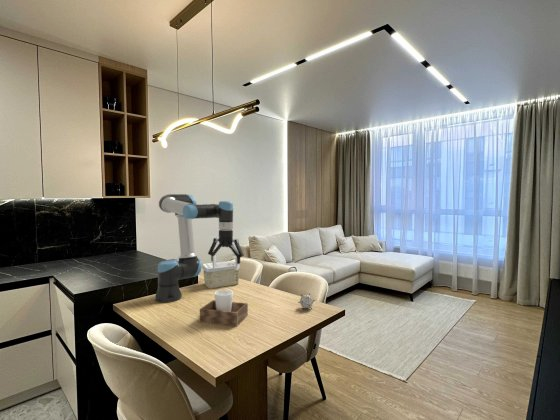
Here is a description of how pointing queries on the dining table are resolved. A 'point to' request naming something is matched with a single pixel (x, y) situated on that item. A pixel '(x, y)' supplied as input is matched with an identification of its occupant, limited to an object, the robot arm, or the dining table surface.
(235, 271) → the storage basket
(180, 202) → the robot arm
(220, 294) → the foam cup
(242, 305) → the brown wooden tray
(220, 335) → the dining table surface
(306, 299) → the grey spiked ball
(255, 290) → the dining table surface
